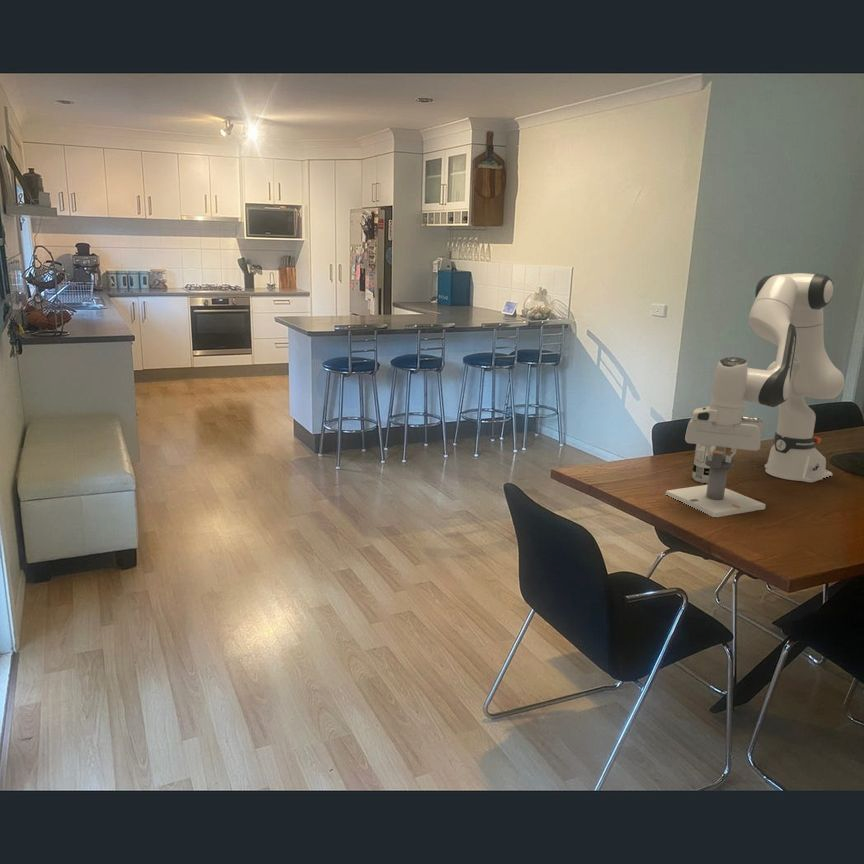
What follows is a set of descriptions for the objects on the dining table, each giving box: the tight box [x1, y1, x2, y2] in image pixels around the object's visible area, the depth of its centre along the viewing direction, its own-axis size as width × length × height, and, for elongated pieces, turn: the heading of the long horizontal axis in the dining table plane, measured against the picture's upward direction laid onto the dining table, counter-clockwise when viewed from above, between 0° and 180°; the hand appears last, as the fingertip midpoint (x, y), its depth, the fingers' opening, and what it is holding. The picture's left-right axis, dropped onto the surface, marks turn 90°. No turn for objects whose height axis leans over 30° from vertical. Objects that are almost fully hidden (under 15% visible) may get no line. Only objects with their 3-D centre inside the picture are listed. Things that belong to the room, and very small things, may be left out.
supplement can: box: [691, 444, 717, 485], centre depth 232 cm, size 8×8×15 cm
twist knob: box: [705, 446, 735, 470], centre depth 207 cm, size 14×8×7 cm, turn 152°
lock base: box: [665, 467, 767, 518], centre depth 212 cm, size 20×20×12 cm
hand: (719, 461), depth 204 cm, fingers open, 3 cm apart
